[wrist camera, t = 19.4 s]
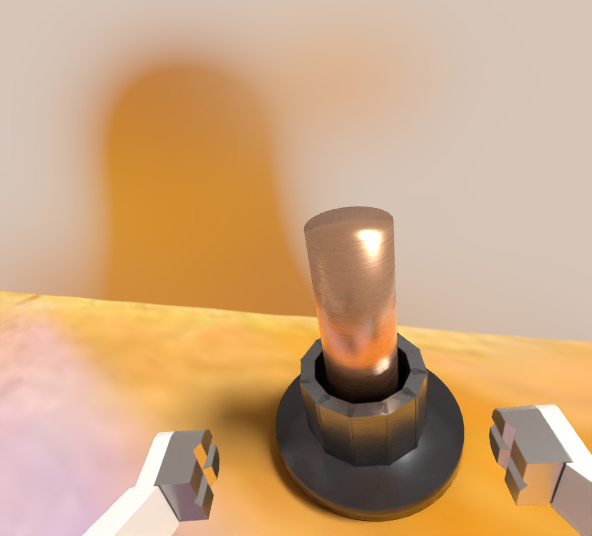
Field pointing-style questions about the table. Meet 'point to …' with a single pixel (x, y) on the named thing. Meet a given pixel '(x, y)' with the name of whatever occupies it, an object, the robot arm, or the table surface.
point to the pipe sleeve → (371, 441)
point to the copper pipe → (355, 301)
